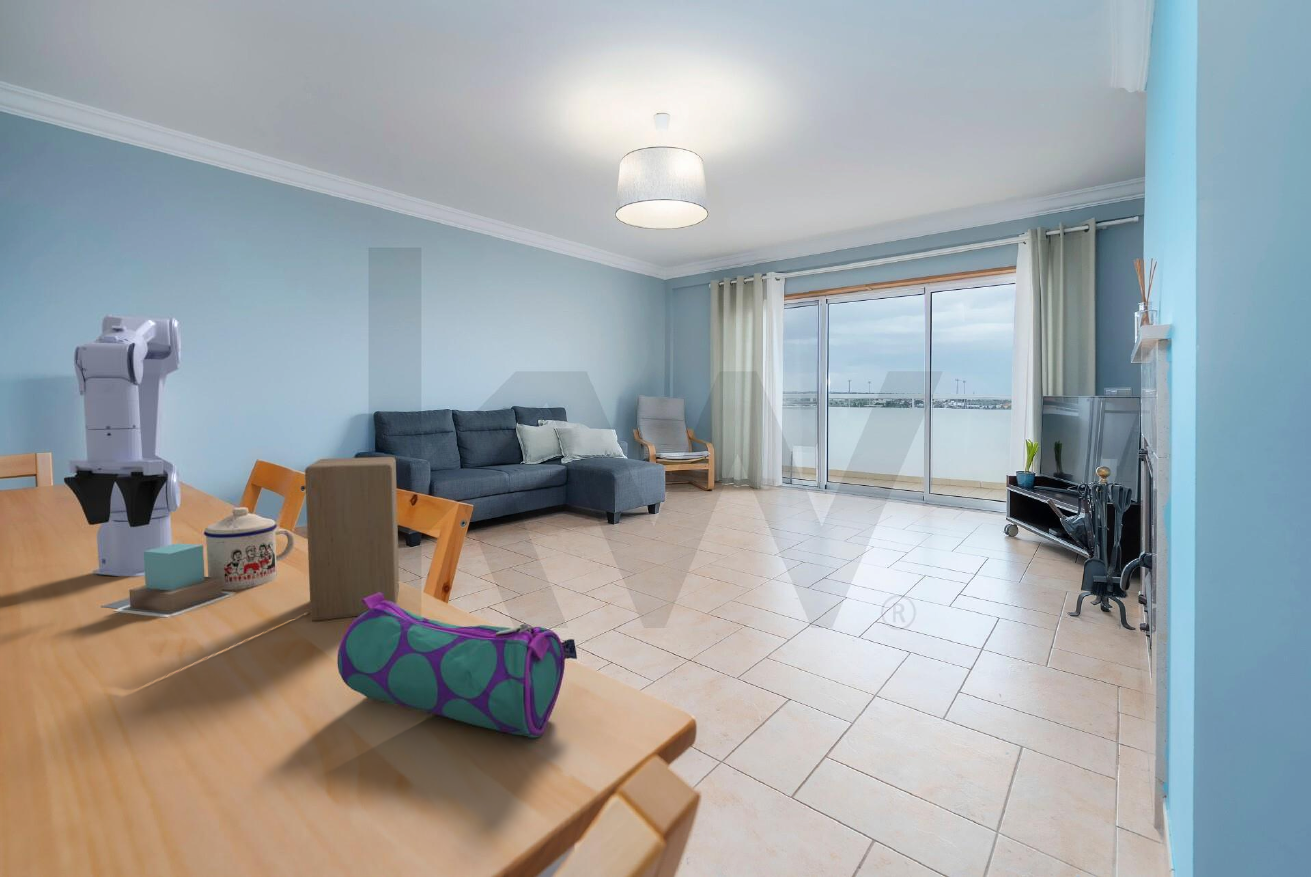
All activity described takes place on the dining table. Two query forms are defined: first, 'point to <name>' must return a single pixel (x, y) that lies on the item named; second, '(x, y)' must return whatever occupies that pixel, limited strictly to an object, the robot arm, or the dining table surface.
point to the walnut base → (175, 596)
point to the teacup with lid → (244, 550)
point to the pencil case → (455, 667)
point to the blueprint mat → (125, 607)
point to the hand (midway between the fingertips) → (119, 524)
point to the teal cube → (174, 566)
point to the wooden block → (351, 534)
